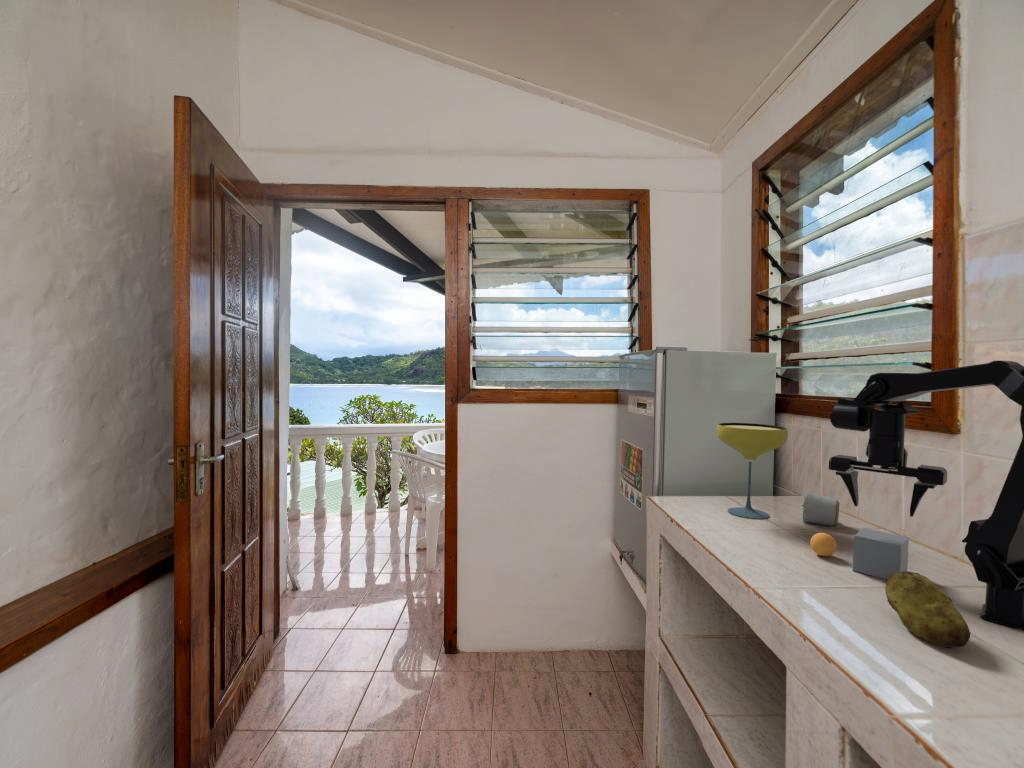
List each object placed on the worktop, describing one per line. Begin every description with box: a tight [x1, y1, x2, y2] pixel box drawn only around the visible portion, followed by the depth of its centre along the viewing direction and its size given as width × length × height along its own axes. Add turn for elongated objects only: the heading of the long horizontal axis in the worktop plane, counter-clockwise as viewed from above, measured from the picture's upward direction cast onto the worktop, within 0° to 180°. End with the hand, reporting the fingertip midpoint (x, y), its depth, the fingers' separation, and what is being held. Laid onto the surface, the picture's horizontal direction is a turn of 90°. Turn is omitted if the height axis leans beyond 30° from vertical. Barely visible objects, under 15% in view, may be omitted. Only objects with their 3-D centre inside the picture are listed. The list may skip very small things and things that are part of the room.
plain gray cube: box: [852, 527, 910, 581], centre depth 102 cm, size 8×8×7 cm
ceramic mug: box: [802, 492, 841, 527], centre depth 136 cm, size 11×8×8 cm
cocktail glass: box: [716, 422, 789, 520], centre depth 143 cm, size 18×18×25 cm
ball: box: [809, 532, 838, 557], centre depth 111 cm, size 5×5×5 cm
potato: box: [884, 570, 972, 649], centre depth 79 cm, size 8×13×8 cm, turn 158°
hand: (883, 511), depth 102 cm, fingers open, 9 cm apart
